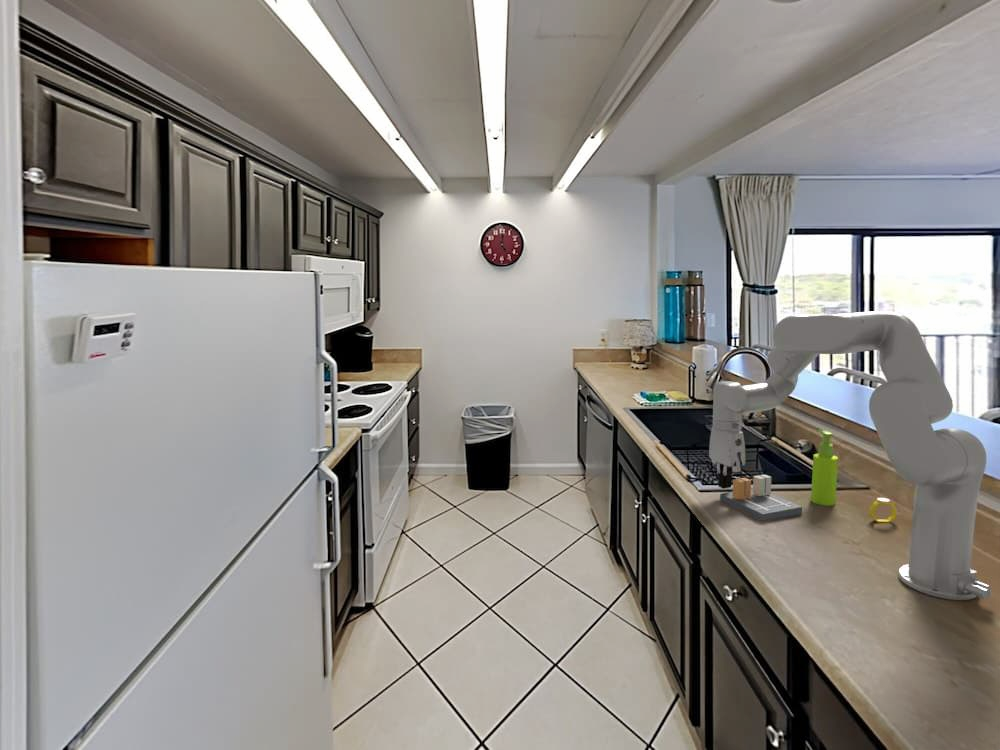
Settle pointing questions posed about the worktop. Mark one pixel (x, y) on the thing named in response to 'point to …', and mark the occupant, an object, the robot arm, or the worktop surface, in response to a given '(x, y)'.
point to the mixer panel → (763, 506)
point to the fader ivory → (762, 485)
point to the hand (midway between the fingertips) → (724, 487)
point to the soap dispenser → (824, 473)
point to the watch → (883, 501)
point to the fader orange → (741, 488)
